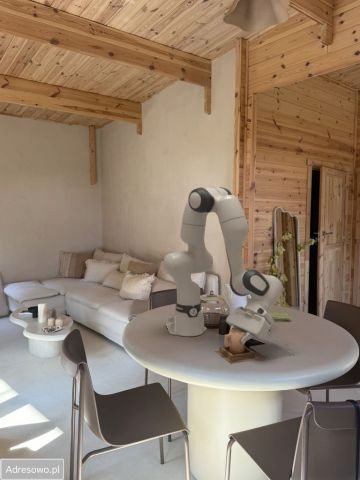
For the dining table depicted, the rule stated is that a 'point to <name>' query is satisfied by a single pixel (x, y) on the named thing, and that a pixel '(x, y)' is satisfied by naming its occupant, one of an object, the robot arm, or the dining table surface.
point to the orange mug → (235, 341)
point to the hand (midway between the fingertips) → (235, 339)
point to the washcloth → (279, 316)
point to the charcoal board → (271, 351)
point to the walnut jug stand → (237, 355)
